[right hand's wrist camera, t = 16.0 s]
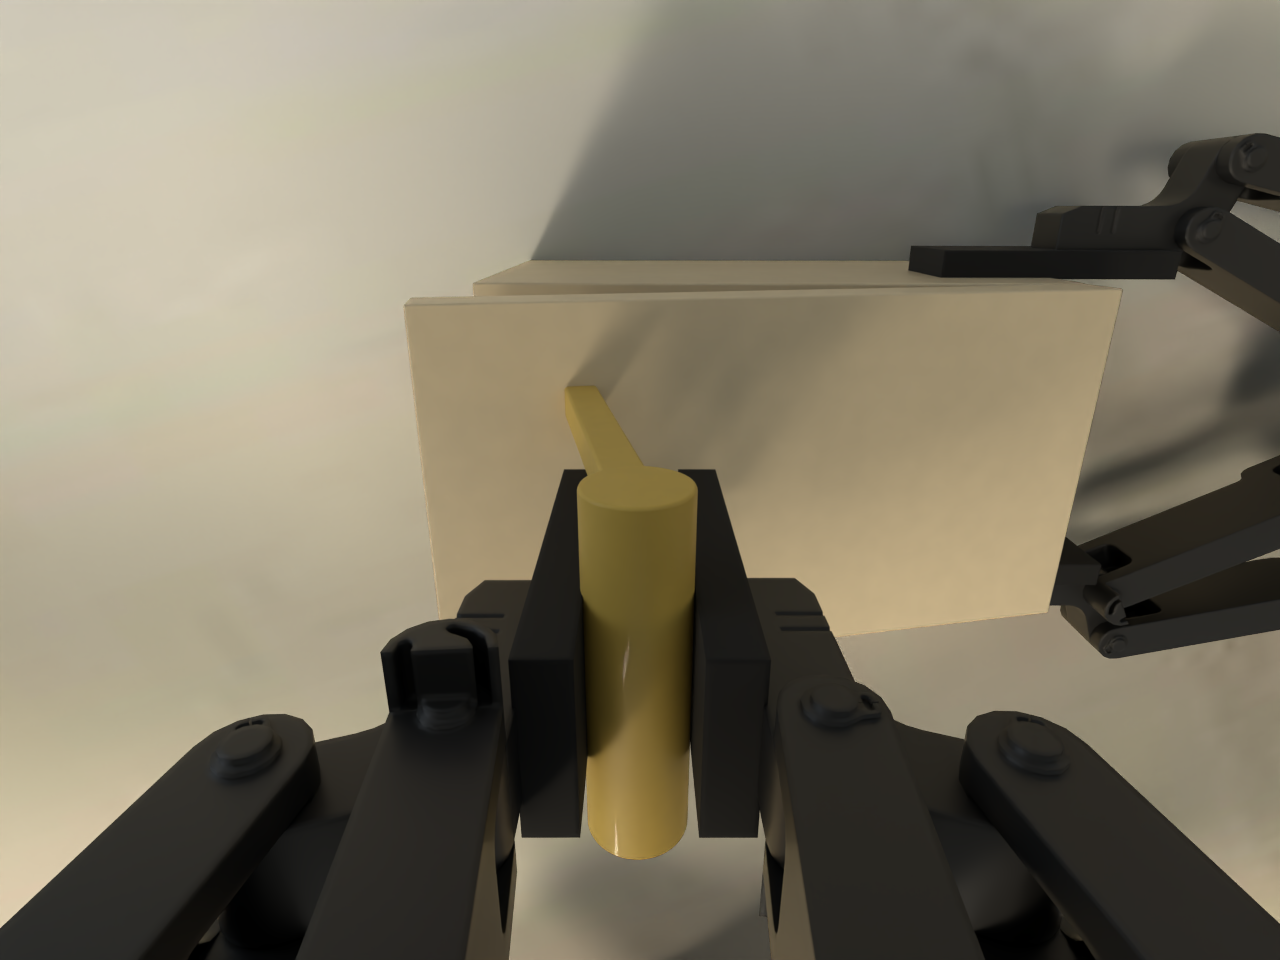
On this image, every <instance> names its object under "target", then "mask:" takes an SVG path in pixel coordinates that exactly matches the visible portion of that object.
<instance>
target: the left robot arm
mask: <svg viewBox="0 0 1280 960" xmlns="http://www.w3.org/2000/svg"><path fill="white" fill-rule="evenodd" d="M1168 174H1169V177H1170V179H1169V181H1168V182H1167V184H1166V186H1165V187H1164V189H1163V190H1162V192H1161V193H1160V194H1159V195H1158V196H1157V197H1156V198H1155V199H1154V200H1152V201H1151V202H1149V203H1147V204H1144V205H1142V206H1055V207H1053V208H1050V209H1048V210H1045V211H1042V212H1040V213H1037V217H1036V223H1035V228H1034V234H1033V239H1032V244H1031V246H911V252H910V260H909V267H908V270H909V271H913V272H918V273H922V274H927V275H931V276H936V277H940V278H1054V279H1175V277H1176V273H1177V271H1179V272H1181V273H1182V274H1184V275H1186V276H1187V277H1189V278H1191V279H1192V280H1194V281H1196V282H1197V283H1199V284H1201V285H1202V286H1204V287H1206V288H1207V289H1209V290H1211V291H1212V292H1214V293H1216V294H1217V295H1219V296H1221V297H1222V298H1224V299H1226V300H1227V301H1229V302H1231V303H1232V304H1234V305H1236V306H1237V307H1239V308H1241V309H1242V310H1244V311H1246V312H1247V313H1249V314H1251V315H1252V316H1254V317H1256V318H1257V319H1259V320H1261V321H1262V322H1264V323H1266V324H1267V325H1269V326H1271V327H1272V328H1274V329H1276V330H1277V331H1279V332H1280V244H1279V243H1278V242H1276V241H1275V240H1273V239H1271V238H1270V237H1268V236H1267V235H1265V234H1263V233H1262V232H1260V231H1259V230H1257V229H1255V228H1254V227H1252V226H1251V225H1249V224H1247V223H1246V222H1244V221H1243V220H1241V219H1239V218H1238V217H1236V216H1235V215H1233V214H1231V213H1230V211H1231V209H1232V207H1233V206H1234V204H1235V203H1236V201H1240V202H1244V203H1248V204H1252V205H1256V206H1259V207H1263V208H1267V209H1271V210H1275V211H1278V212H1280V138H1279V137H1276V136H1272V135H1268V134H1260V133H1255V134H1248V135H1240V136H1232V137H1225V138H1217V139H1209V140H1202V141H1194V142H1189V143H1187V144H1184V145H1182V146H1181V147H1180V148H1178V149H1177V150H1176V151H1175V152H1174V154H1173V155H1172V157H1171V158H1170V161H1169V165H1168ZM1241 478H1242V479H1241V480H1240V481H1238V482H1236V483H1233V484H1231V485H1229V486H1226V487H1224V488H1221V489H1219V490H1216V491H1214V492H1211V493H1209V494H1206V495H1204V496H1201V497H1199V498H1196V499H1194V500H1191V501H1189V502H1186V503H1184V504H1181V505H1179V506H1176V507H1174V508H1171V509H1169V510H1166V511H1164V512H1161V513H1159V514H1156V515H1154V516H1151V517H1149V518H1146V519H1144V520H1141V521H1139V522H1136V523H1134V524H1131V525H1129V526H1126V527H1124V528H1121V529H1119V530H1116V531H1114V532H1111V533H1109V534H1106V535H1104V536H1101V537H1099V538H1096V539H1094V540H1091V541H1089V542H1086V543H1084V544H1081V545H1079V546H1077V545H1075V544H1074V543H1073V542H1072V541H1070V540H1069V539H1068V538H1066V537H1065V540H1064V544H1063V549H1062V553H1061V557H1060V562H1059V566H1058V570H1057V574H1056V579H1055V583H1054V587H1053V592H1052V596H1051V600H1050V604H1049V605H1061V609H1060V611H1061V615H1062V616H1063V617H1064V618H1065V619H1066V620H1067V621H1068V622H1069V623H1070V624H1071V625H1072V626H1073V627H1074V628H1075V629H1076V630H1077V631H1078V632H1079V633H1080V634H1081V635H1082V636H1083V637H1084V638H1085V639H1086V640H1087V641H1088V642H1089V643H1090V644H1091V645H1092V646H1093V647H1095V648H1096V649H1097V650H1098V651H1099V652H1100V653H1101V654H1102V655H1103V656H1104V657H1107V658H1121V657H1127V656H1133V655H1138V654H1144V653H1150V652H1155V651H1161V650H1167V649H1172V648H1178V647H1184V646H1189V645H1195V644H1201V643H1206V642H1212V641H1218V640H1223V639H1229V638H1235V637H1241V636H1246V635H1252V634H1258V633H1263V632H1269V631H1275V630H1280V558H1267V559H1260V560H1254V561H1249V560H1251V559H1254V558H1257V557H1259V556H1262V555H1264V554H1267V553H1270V552H1272V551H1275V550H1278V549H1280V455H1279V456H1277V457H1275V458H1272V459H1270V460H1267V461H1265V462H1262V463H1260V464H1257V465H1255V466H1252V467H1250V468H1247V469H1246V470H1244V471H1243V472H1242V473H1241ZM1246 561H1249V562H1246Z"/></svg>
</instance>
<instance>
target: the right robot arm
mask: <svg viewBox="0 0 1280 960" xmlns="http://www.w3.org/2000/svg"><path fill="white" fill-rule="evenodd" d="M678 472H680V473H682V474H685V475H686V476H688V477H690V478H691V479H692V480H693V481H694V482H695V484H696V486H697V489H698V499H697V531H696V562H695V594H694V626H693V658H692V690H691V722H690V745H691V755H692V766H693V777H694V787H695V798H696V808H697V819H698V829H699V838H758V826H759V813H761V818H762V823H763V828H764V833H765V838H766V841H765V853H764V865H763V877H762V889H761V901H760V914H759V916H765V917H767V918H768V929H769V940H770V950H771V960H1280V924H1279V923H1278V922H1277V921H1276V920H1275V919H1274V918H1273V917H1272V916H1271V915H1270V914H1269V913H1268V912H1267V911H1266V910H1264V909H1263V908H1262V907H1261V906H1260V905H1259V904H1258V903H1257V902H1256V901H1255V900H1254V899H1253V898H1252V897H1251V896H1249V895H1248V894H1247V893H1246V892H1245V891H1244V890H1243V889H1242V888H1241V887H1240V886H1239V885H1238V884H1237V883H1236V882H1234V881H1233V880H1232V879H1231V878H1230V877H1229V876H1228V875H1227V874H1226V873H1225V872H1224V871H1223V870H1222V869H1220V868H1219V867H1218V866H1217V865H1216V864H1215V863H1214V862H1213V861H1212V860H1211V859H1210V858H1209V857H1208V856H1207V855H1205V854H1204V853H1203V852H1202V851H1201V850H1200V849H1199V848H1198V847H1197V846H1196V845H1195V844H1194V843H1193V842H1192V841H1190V840H1189V839H1188V838H1187V837H1186V836H1185V835H1184V834H1183V833H1182V832H1181V831H1180V830H1179V829H1178V828H1177V827H1175V826H1174V825H1173V824H1172V823H1171V822H1170V821H1169V820H1168V819H1167V818H1166V817H1165V816H1164V815H1163V814H1162V813H1160V812H1159V811H1158V810H1157V809H1156V808H1155V807H1154V806H1153V805H1152V804H1151V803H1150V802H1149V801H1148V800H1147V799H1145V798H1144V797H1143V796H1142V795H1141V794H1140V793H1139V792H1138V791H1137V790H1136V789H1135V788H1134V787H1133V786H1131V785H1130V784H1129V783H1128V782H1127V781H1126V780H1125V779H1124V778H1123V777H1122V776H1121V775H1120V774H1119V773H1118V772H1116V771H1115V770H1114V769H1113V768H1112V767H1111V766H1110V765H1109V764H1108V763H1107V762H1106V761H1105V760H1104V759H1103V758H1101V757H1100V756H1099V755H1098V754H1097V753H1096V752H1095V751H1094V750H1093V749H1092V748H1091V747H1090V746H1089V745H1088V744H1086V743H1085V742H1084V741H1082V740H1081V739H1080V738H1078V737H1077V736H1075V735H1074V734H1073V733H1071V732H1070V731H1069V730H1067V729H1066V728H1063V727H1061V726H1059V725H1057V724H1055V723H1052V722H1050V721H1048V720H1046V719H1044V718H1041V717H1037V716H1034V715H1029V714H1025V713H1021V712H1017V711H993V712H989V713H986V714H982V715H979V716H977V717H976V718H975V719H974V720H973V721H972V722H971V723H970V724H969V725H968V726H967V731H966V736H965V740H964V739H960V738H955V737H951V736H946V735H942V734H937V733H932V732H928V731H924V730H920V729H917V728H913V727H910V726H906V725H904V724H902V723H900V722H897V721H895V720H894V719H893V716H892V714H891V711H890V710H889V708H888V707H887V705H886V704H885V702H884V701H883V699H882V698H881V697H880V696H878V695H877V694H876V693H874V692H873V691H872V690H870V689H869V688H867V687H866V686H864V685H862V684H859V683H857V682H855V681H854V679H853V677H852V674H851V672H850V670H849V668H848V666H847V663H846V661H845V659H844V657H843V655H842V653H841V650H840V648H839V646H838V644H837V642H836V639H835V637H834V635H833V633H832V631H830V626H829V624H828V622H827V620H826V618H825V616H823V611H822V609H821V607H820V604H819V602H818V600H817V598H816V596H815V594H814V593H813V592H812V591H811V590H809V589H808V588H807V587H806V586H804V585H803V584H802V583H801V582H799V581H798V580H797V579H796V578H747V576H746V572H745V569H744V565H743V562H742V558H741V555H740V552H739V548H738V545H737V541H736V538H735V535H734V531H733V528H732V524H731V521H730V518H729V514H728V511H727V507H726V504H725V501H724V497H723V494H722V490H721V487H720V483H719V480H718V477H717V473H716V470H715V469H678ZM586 476H588V475H587V473H586V470H585V469H564V471H563V474H562V478H561V481H560V485H559V488H558V491H557V495H556V498H555V502H554V505H553V508H552V512H551V515H550V519H549V522H548V525H547V529H546V532H545V536H544V539H543V542H542V546H541V549H540V553H539V556H538V559H537V563H536V566H535V570H534V573H533V576H532V580H484V581H483V582H482V583H480V584H479V585H478V586H477V587H475V588H474V589H473V590H472V591H470V592H469V593H468V594H467V595H466V596H465V597H464V599H463V601H462V604H461V606H460V608H459V610H458V612H457V618H455V619H444V620H437V621H430V622H426V623H423V624H420V625H417V626H414V627H411V628H409V629H406V630H405V631H403V632H402V633H400V634H399V635H397V636H395V637H394V638H392V639H391V640H390V641H389V642H388V643H387V645H386V646H385V647H384V648H383V650H382V651H381V652H380V653H381V659H382V666H383V673H384V679H385V686H386V692H387V699H388V706H389V715H388V717H387V720H386V723H384V724H382V725H380V726H378V727H375V728H373V729H369V730H366V731H363V732H359V733H356V734H351V735H347V736H342V737H338V738H333V739H329V740H324V741H320V742H315V740H314V735H313V730H312V728H311V727H310V726H309V725H308V724H307V723H306V722H305V721H304V720H303V719H300V718H297V717H294V716H290V715H287V714H268V715H260V716H256V717H251V718H247V719H243V720H239V721H237V722H234V723H232V724H230V725H228V726H226V727H224V728H221V729H219V730H217V731H215V732H213V733H212V734H210V735H209V736H208V737H206V738H205V739H204V740H202V741H201V742H199V743H198V744H197V745H195V746H194V747H193V748H192V749H191V750H190V751H189V752H187V753H186V754H185V755H184V756H183V757H182V758H181V759H180V760H179V761H178V762H177V763H176V764H175V765H174V766H173V767H172V768H170V769H169V770H168V771H167V772H166V773H165V774H164V775H163V776H162V777H161V778H160V779H159V780H158V781H157V782H156V783H154V784H153V785H152V786H151V787H150V788H149V789H148V790H147V791H146V792H145V793H144V794H143V795H142V796H141V797H140V798H139V799H137V800H136V801H135V802H134V803H133V804H132V805H131V806H130V807H129V808H128V809H127V810H126V811H125V812H124V813H123V814H121V815H120V816H119V817H118V818H117V819H116V820H115V821H114V822H113V823H112V824H111V825H110V826H109V827H108V828H107V829H106V830H104V831H103V832H102V833H101V834H100V835H99V836H98V837H97V838H96V839H95V840H94V841H93V842H92V843H91V844H90V845H88V846H87V847H86V848H85V849H84V850H83V851H82V852H81V853H80V854H79V855H78V856H77V857H76V858H75V859H74V860H73V861H71V862H70V863H69V864H68V865H67V866H66V867H65V868H64V869H63V870H62V871H61V872H60V873H59V874H58V875H57V876H56V877H54V878H53V879H52V880H51V881H50V882H49V883H48V884H47V885H46V886H45V887H44V888H43V889H42V890H41V891H40V892H38V893H37V894H36V895H35V896H34V897H33V898H32V899H31V900H30V901H29V902H28V903H27V904H26V905H25V906H24V907H23V908H21V909H20V910H19V911H18V912H17V913H16V914H15V915H14V916H13V917H12V918H11V919H10V920H9V921H8V922H7V923H5V924H4V925H3V926H2V927H1V928H0V960H509V951H510V941H511V930H512V920H513V909H514V898H515V888H516V877H517V865H516V853H515V841H514V838H515V833H516V828H517V823H518V818H519V813H520V821H521V834H522V838H559V837H580V833H581V822H582V812H583V801H584V791H585V780H586V769H587V759H588V749H587V718H586V687H585V656H584V625H583V596H582V594H581V591H580V570H579V539H578V509H577V487H578V485H579V483H580V481H581V480H582V479H584V478H585V477H586Z"/></svg>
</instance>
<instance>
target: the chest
mask: <svg viewBox="0 0 1280 960" xmlns="http://www.w3.org/2000/svg"><path fill="white" fill-rule="evenodd" d="M908 267H909V261H736V260H530V261H527V262H524V263H522V264H520V265H517V266H515V267H512V268H510V269H507V270H505V271H502V272H500V273H497V274H495V275H492V276H490V277H487V278H485V279H482V280H480V281H477V282H475V283H473V294H474V296H519V295H568V294H617V293H667V292H716V291H765V290H815V289H864V288H914V287H963V286H1012V285H1062V284H1084V283H1079V282H1072V281H1066V280H1060V279H1054V278H940V277H936V276H931V275H927V274H922V273H918V272H913V271H909V270H908Z"/></svg>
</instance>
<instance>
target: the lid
mask: <svg viewBox="0 0 1280 960" xmlns="http://www.w3.org/2000/svg"><path fill="white" fill-rule="evenodd" d="M1122 292H1123V290H1122V289H1121V288H1113V287H1105V286H1096V285H1088V284H1062V285H1012V286H963V287H914V288H864V289H815V290H765V291H716V292H667V293H617V294H568V295H519V296H469V297H420V298H410V299H409V300H408V301H407V302H406V303H405V304H404V307H403V308H404V317H405V325H406V334H407V343H408V352H409V360H410V369H411V378H412V386H413V395H414V404H415V413H416V421H417V430H418V439H419V448H420V456H421V465H422V474H423V483H424V491H425V500H426V509H427V518H428V526H429V535H430V544H431V552H432V561H433V570H434V579H435V587H436V596H437V605H438V614H439V620H444V619H455V618H457V612H458V610H459V608H460V606H461V604H462V601H463V599H464V597H465V596H466V595H467V594H468V593H469V592H470V591H472V590H473V589H474V588H475V587H477V586H478V585H479V584H480V583H482V582H483V581H484V580H532V576H533V573H534V570H535V566H536V563H537V559H538V556H539V553H540V549H541V546H542V542H543V539H544V536H545V532H546V529H547V525H548V522H549V519H550V515H551V512H552V508H553V505H554V502H555V498H556V495H557V491H558V488H559V485H560V481H561V478H562V474H563V471H564V469H585V470H586V473H587V475H588V476H586V477H585V478H584V479H582V480H581V481H580V483H579V485H578V487H577V509H578V539H579V570H580V591H581V594H582V596H583V625H584V656H585V687H586V718H587V749H588V759H587V769H586V781H587V811H588V825H589V829H590V832H591V834H592V836H593V837H594V839H595V840H596V842H597V843H598V844H599V845H600V846H601V847H602V848H603V849H605V850H606V851H608V852H609V853H611V854H613V855H616V856H618V857H621V858H626V859H633V860H642V859H649V858H654V857H657V856H659V855H662V854H664V853H666V852H667V851H669V850H670V849H672V848H673V847H674V846H675V845H676V844H677V843H678V842H679V841H680V839H681V837H682V836H683V834H684V832H685V830H686V826H687V817H688V785H689V753H690V722H691V690H692V658H693V626H694V594H695V562H696V531H697V499H698V489H697V486H696V484H695V482H694V481H693V480H692V479H691V478H690V477H688V476H686V475H685V474H682V473H680V472H678V469H715V470H716V473H717V477H718V480H719V483H720V487H721V490H722V494H723V497H724V501H725V504H726V507H727V511H728V514H729V518H730V521H731V524H732V528H733V531H734V535H735V538H736V541H737V545H738V548H739V552H740V555H741V558H742V562H743V565H744V569H745V572H746V576H747V578H796V579H797V580H798V581H799V582H801V583H802V584H803V585H804V586H806V587H807V588H808V589H809V590H811V591H812V592H813V593H814V594H815V596H816V598H817V600H818V602H819V604H820V607H821V609H822V611H823V616H825V618H826V620H827V622H828V624H829V626H830V631H832V633H833V635H834V637H841V636H850V635H858V634H867V633H876V632H884V631H893V630H902V629H910V628H919V627H928V626H936V625H945V624H954V623H962V622H971V621H980V620H988V619H997V618H1005V617H1014V616H1023V615H1031V614H1040V613H1047V612H1048V609H1049V604H1050V600H1051V596H1052V592H1053V587H1054V583H1055V579H1056V574H1057V570H1058V566H1059V562H1060V557H1061V553H1062V549H1063V544H1064V540H1065V536H1066V532H1067V527H1068V523H1069V519H1070V514H1071V510H1072V506H1073V502H1074V497H1075V493H1076V489H1077V485H1078V480H1079V476H1080V472H1081V467H1082V463H1083V459H1084V455H1085V450H1086V446H1087V442H1088V437H1089V433H1090V429H1091V425H1092V420H1093V416H1094V412H1095V407H1096V403H1097V399H1098V395H1099V390H1100V386H1101V382H1102V377H1103V373H1104V369H1105V365H1106V360H1107V356H1108V352H1109V347H1110V343H1111V339H1112V335H1113V330H1114V326H1115V322H1116V317H1117V313H1118V309H1119V305H1120V300H1121V296H1122Z"/></svg>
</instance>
